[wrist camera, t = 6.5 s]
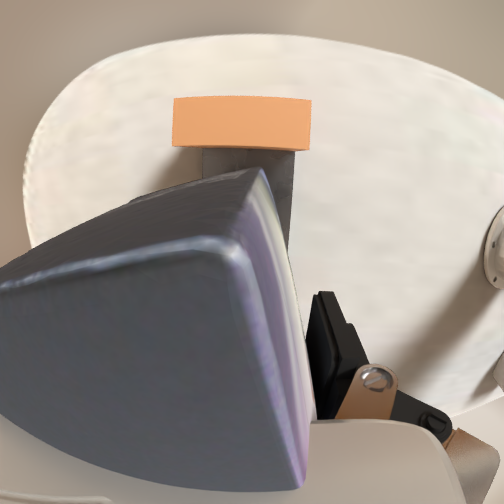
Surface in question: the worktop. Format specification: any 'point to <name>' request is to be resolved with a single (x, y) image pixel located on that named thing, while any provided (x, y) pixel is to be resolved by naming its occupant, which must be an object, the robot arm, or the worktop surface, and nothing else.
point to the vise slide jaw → (242, 122)
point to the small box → (165, 341)
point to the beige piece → (499, 372)
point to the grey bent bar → (274, 165)
